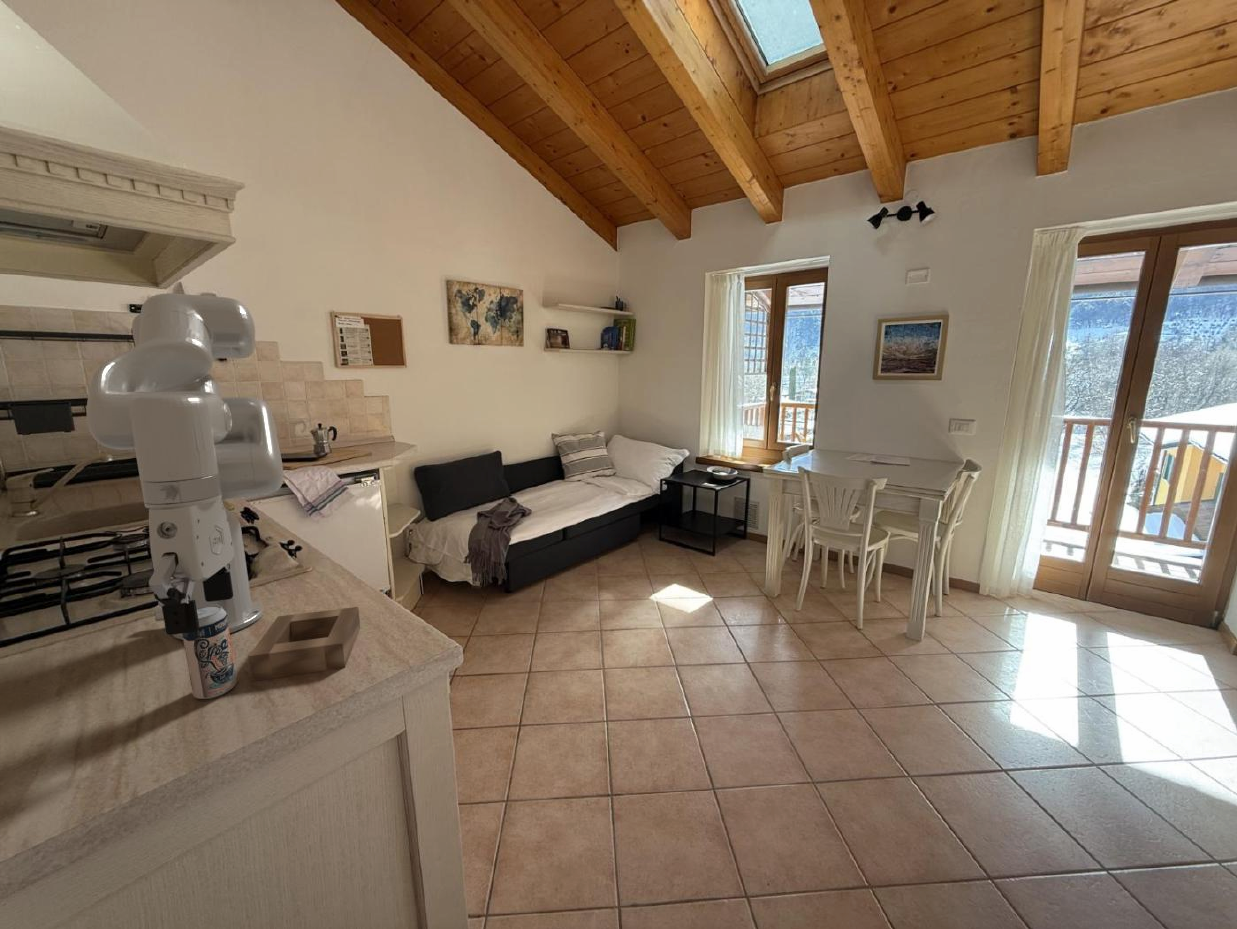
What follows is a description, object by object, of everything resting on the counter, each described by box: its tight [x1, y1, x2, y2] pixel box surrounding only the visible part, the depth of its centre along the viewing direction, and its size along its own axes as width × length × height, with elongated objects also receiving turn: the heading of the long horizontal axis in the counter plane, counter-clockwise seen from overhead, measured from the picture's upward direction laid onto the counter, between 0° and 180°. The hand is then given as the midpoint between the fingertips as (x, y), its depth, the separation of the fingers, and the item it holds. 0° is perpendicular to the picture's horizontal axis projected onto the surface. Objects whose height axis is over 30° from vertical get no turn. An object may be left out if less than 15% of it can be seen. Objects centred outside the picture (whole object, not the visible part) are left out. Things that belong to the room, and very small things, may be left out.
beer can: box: [182, 605, 238, 700], centre depth 68 cm, size 5×5×12 cm
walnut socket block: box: [248, 606, 361, 682], centre depth 78 cm, size 12×12×4 cm
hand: (202, 614), depth 66 cm, fingers open, 9 cm apart
